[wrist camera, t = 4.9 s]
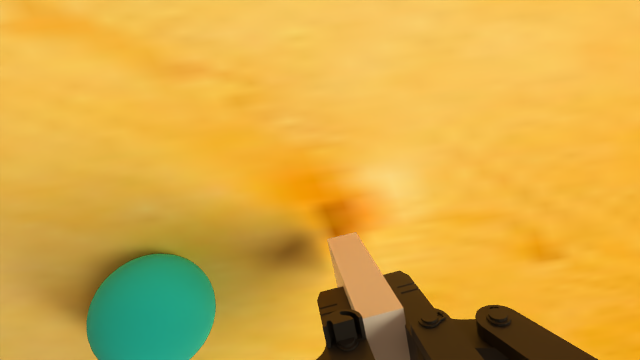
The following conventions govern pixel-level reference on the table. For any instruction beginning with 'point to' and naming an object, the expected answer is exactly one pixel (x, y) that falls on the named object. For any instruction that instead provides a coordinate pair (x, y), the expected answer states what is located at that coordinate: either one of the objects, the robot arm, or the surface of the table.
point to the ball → (151, 310)
